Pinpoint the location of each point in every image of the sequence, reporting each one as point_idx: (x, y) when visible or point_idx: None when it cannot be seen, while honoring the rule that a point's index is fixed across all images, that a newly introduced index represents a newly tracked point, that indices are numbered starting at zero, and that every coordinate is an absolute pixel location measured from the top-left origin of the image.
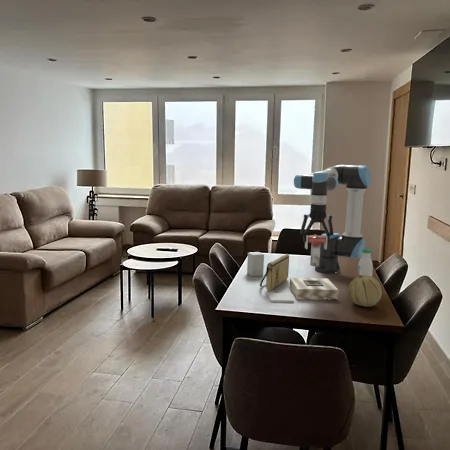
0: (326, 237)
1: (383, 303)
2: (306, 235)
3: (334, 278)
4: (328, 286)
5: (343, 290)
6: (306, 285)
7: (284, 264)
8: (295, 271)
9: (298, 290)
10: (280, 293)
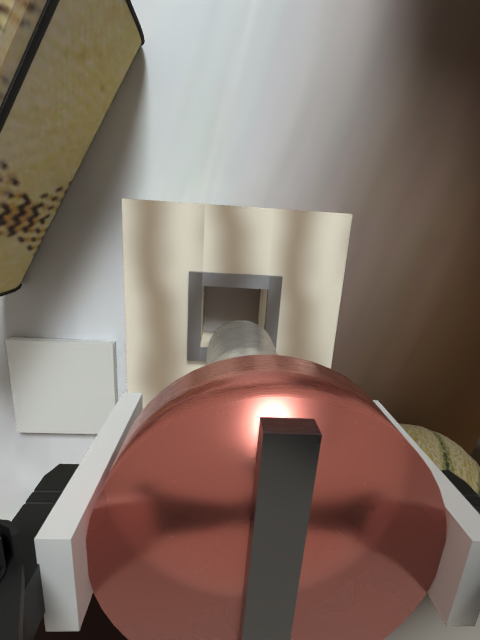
0: (441, 603)
1: (472, 425)
2: (39, 621)
3: (462, 10)
4: None
5: (397, 262)
6: (186, 353)
7: (61, 68)
8: None
9: None
10: (66, 347)
